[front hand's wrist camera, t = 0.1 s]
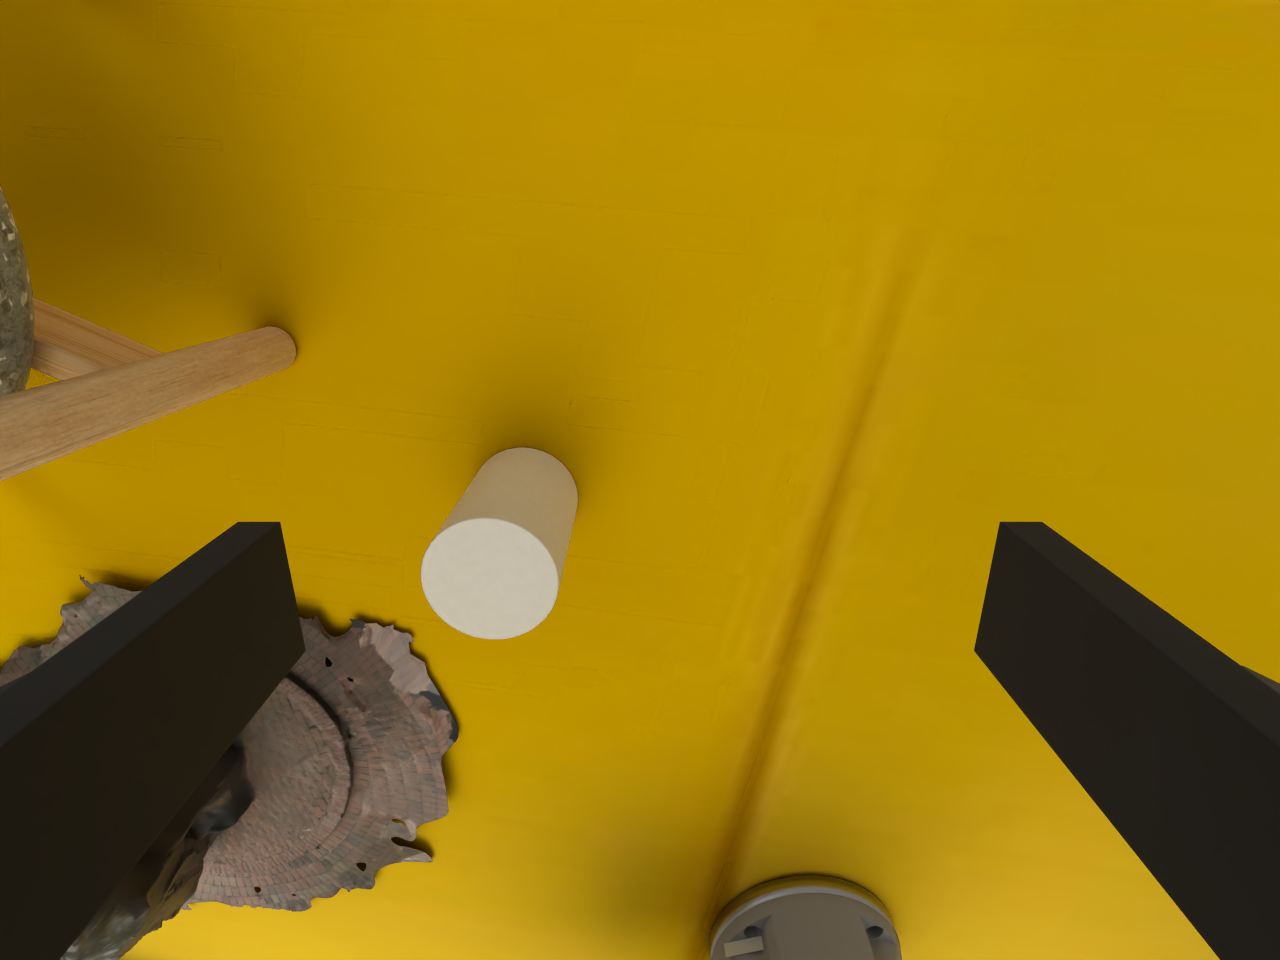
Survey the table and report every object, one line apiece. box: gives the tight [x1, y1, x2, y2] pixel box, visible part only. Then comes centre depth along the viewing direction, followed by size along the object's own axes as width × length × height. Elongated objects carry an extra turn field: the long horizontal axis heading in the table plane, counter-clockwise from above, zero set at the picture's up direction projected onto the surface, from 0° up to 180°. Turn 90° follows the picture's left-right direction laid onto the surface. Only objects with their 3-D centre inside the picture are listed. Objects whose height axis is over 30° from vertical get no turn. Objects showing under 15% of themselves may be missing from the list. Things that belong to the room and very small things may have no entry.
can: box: [421, 447, 578, 639], centre depth 37 cm, size 7×7×11 cm
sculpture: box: [0, 575, 458, 960], centre depth 42 cm, size 33×35×16 cm
